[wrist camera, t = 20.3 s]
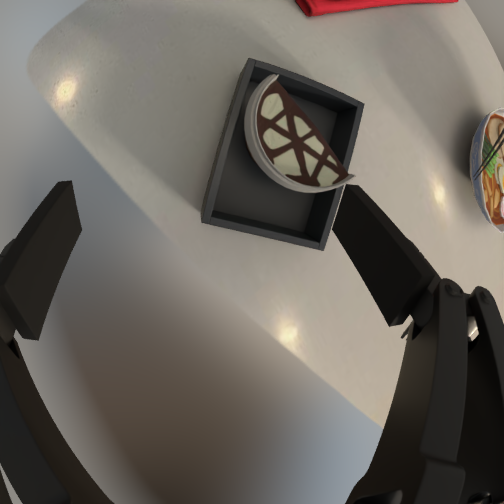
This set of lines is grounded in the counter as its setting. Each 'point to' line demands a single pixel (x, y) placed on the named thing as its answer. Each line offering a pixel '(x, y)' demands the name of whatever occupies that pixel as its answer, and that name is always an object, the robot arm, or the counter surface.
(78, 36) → the counter surface
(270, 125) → the halved ice cream tub
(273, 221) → the bin
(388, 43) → the counter surface
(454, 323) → the robot arm
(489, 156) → the ramen bowl
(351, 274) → the counter surface
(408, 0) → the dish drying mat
